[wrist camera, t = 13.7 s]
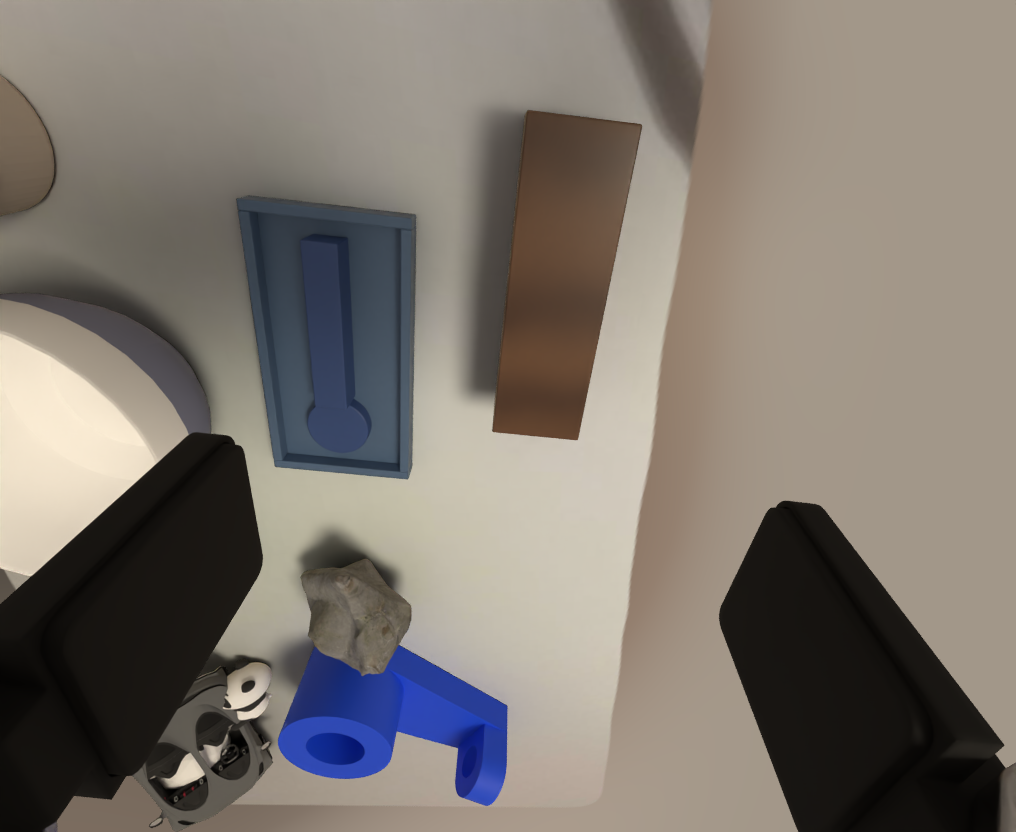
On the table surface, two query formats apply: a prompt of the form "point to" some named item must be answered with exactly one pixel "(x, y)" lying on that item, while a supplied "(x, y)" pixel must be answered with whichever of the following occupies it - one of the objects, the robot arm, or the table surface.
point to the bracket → (394, 721)
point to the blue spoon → (332, 345)
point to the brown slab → (560, 268)
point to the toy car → (210, 746)
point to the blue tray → (375, 325)
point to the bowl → (80, 418)
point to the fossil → (355, 615)
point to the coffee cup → (22, 153)
